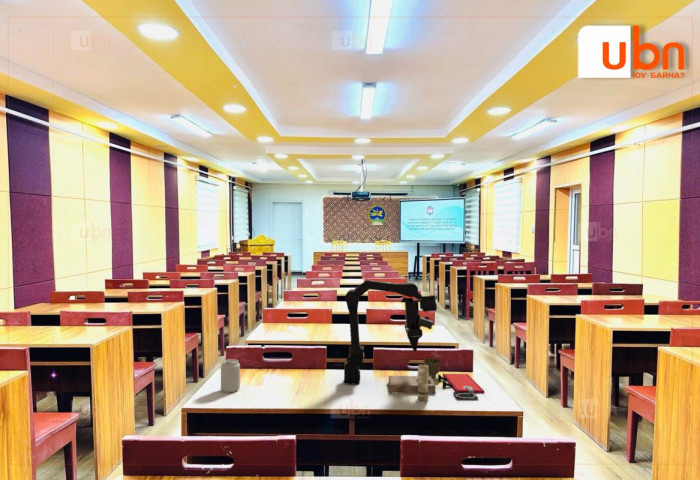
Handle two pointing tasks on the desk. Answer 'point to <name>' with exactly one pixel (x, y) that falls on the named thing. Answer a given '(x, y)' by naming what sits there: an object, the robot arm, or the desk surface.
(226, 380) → the can
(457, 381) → the red board with handle
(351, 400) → the desk surface
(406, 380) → the walnut board
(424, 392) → the birch dowel
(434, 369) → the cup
